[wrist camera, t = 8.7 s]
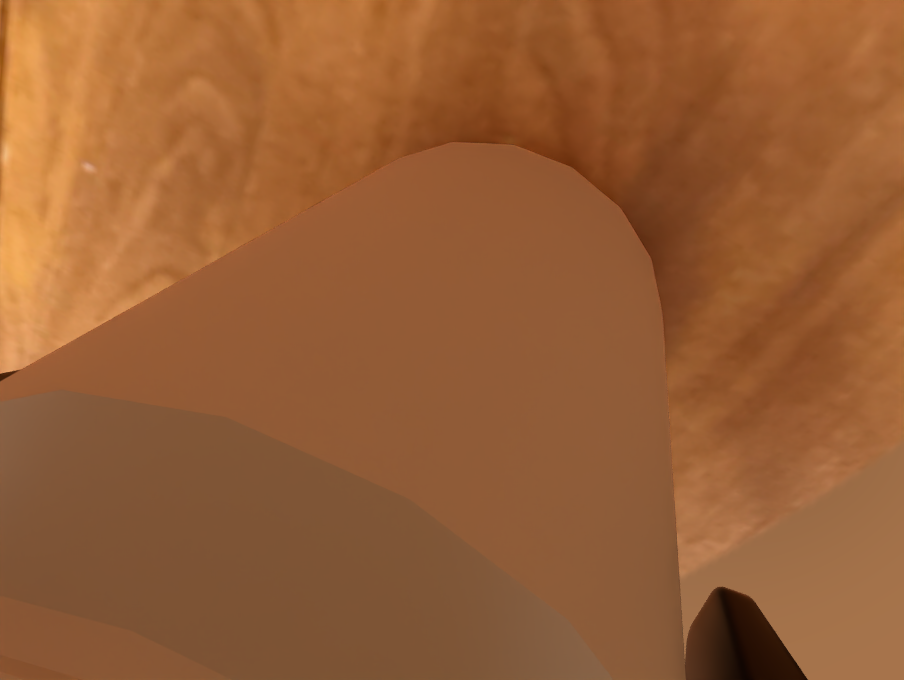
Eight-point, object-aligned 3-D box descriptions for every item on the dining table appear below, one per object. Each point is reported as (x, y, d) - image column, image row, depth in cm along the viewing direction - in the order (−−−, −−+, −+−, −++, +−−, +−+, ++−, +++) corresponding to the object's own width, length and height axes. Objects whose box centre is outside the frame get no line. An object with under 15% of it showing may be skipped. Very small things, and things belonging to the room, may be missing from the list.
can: (740, 255, 12) (1218, 1411, 2) (545, 491, 16) (372, 1313, 6) (412, 61, 12) (-709, 263, 2) (295, 342, 16) (-312, 902, 6)
